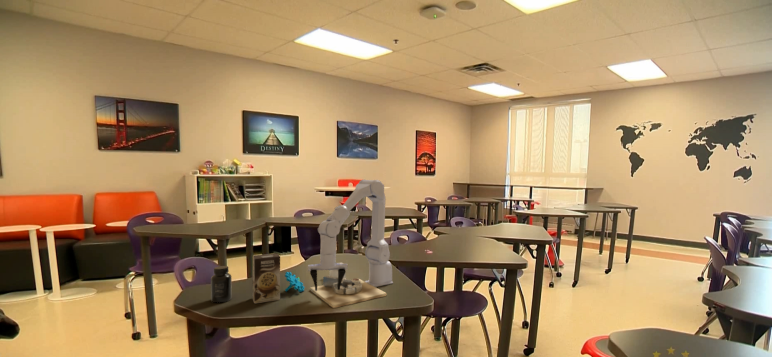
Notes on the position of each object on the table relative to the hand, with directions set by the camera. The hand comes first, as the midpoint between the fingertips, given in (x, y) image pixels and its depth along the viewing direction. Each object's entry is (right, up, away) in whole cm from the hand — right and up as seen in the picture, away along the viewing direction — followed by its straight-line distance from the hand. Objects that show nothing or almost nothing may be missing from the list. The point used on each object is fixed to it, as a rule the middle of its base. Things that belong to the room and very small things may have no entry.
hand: (327, 289), depth 128 cm
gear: (-14, -3, +8) cm, 17 cm away
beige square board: (+7, -3, +5) cm, 9 cm away
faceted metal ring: (+4, -2, +6) cm, 8 cm away
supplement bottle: (-38, -3, -2) cm, 39 cm away
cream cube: (0, -3, +24) cm, 25 cm away
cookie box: (-22, -3, -1) cm, 23 cm away
